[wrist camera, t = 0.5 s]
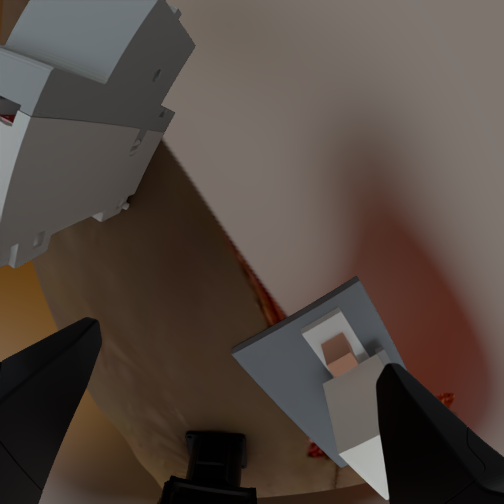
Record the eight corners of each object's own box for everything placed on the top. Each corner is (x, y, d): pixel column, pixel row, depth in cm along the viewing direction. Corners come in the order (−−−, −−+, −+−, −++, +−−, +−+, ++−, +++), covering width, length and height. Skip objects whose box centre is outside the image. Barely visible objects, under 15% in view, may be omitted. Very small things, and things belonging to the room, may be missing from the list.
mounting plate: (339, 461, 32) (345, 490, 28) (232, 348, 27) (227, 382, 23) (428, 416, 30) (441, 443, 26) (356, 275, 25) (374, 301, 20)
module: (364, 443, 28) (381, 504, 20) (315, 382, 25) (330, 457, 17) (418, 415, 27) (445, 472, 19) (381, 345, 24) (418, 413, 16)
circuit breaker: (217, 43, 20) (160, -82, 5) (127, 209, 24) (-9, 283, 9) (137, 12, 19) (30, -81, 4) (58, 168, 23) (-88, 202, 8)
